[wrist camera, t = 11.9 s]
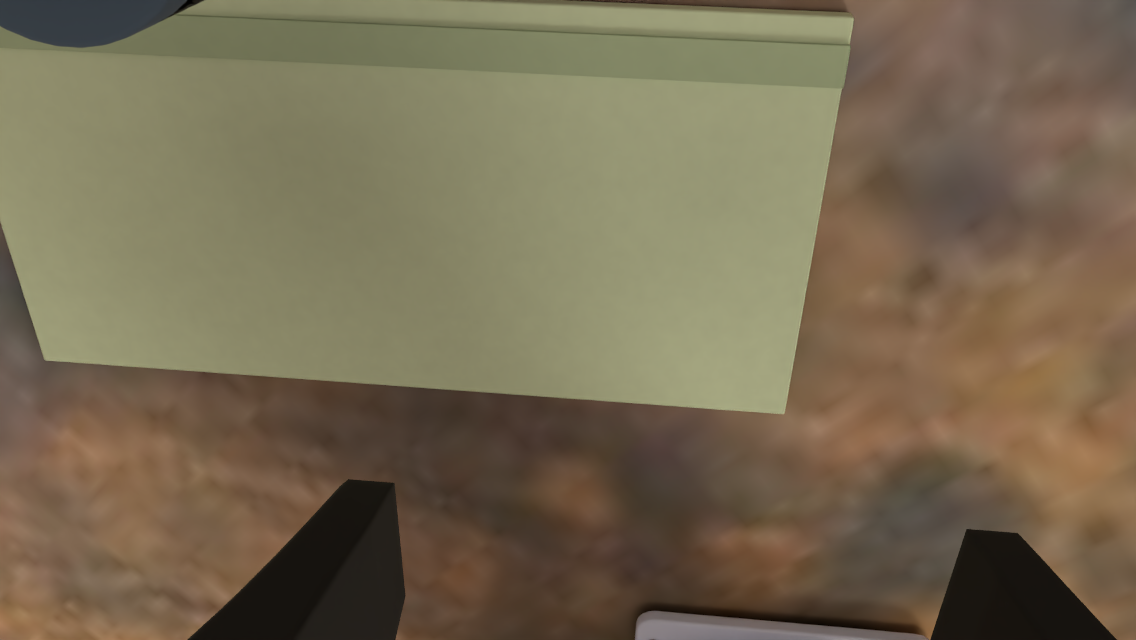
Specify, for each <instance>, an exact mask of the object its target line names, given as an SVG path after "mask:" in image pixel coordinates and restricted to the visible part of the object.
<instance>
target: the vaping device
mask: <svg viewBox="0 0 1136 640" xmlns="http://www.w3.org/2000/svg"><path fill="white" fill-rule="evenodd" d="M202 1H204V0H0V26H1V27H2V28H4V29H6V30H8V31H11V32H13V33H16V34H18V35H20V36H23V37H25V38H28V39H30V40H33V41H37V42H42V43H46V44H50V45H54V46H61V47H76V48H85V47H94V46H102V45H107V44H110V43H113V42H116V41H119V40H122V39H125V38H128V37H130V36H132V35H134V34H136V33H138V32H140V31H142V30H144V29H146V28H148V27H151V26H153V25H155V24H157V23H158V22H161V21H163V20H165V19H167V18H169V17H171V16H173V15H175V14H177V13H180V12H182V11H184V10H186V9H187V8H189V7H192V6H194V5H196V4H198V3H200V2H202ZM187 5H188V6H187ZM185 8H186V9H185Z"/></svg>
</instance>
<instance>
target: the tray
mask: <svg viewBox="0 0 1136 640" xmlns="http://www.w3.org/2000/svg"><path fill="white" fill-rule="evenodd" d="M187 6H188V5H187ZM185 9H186V8H185ZM853 22H854V17H853V16H852V14H851V13H849V12H825V11H802V10H779V9H755V8H732V7H709V6H685V5H662V4H639V3H615V2H592V1H568V0H204V1H202V2H200V3H198V4H196V5H194V6H192V7H189V8H187V9H186V10H184V11H182V12H180V13H177V14H175V15H173V16H171V17H169V18H167V19H165V20H163V21H161V22H158V23H157V24H155V25H153V26H151V27H148V28H146V29H144V30H142V31H140V32H138V33H136V34H134V35H132V36H130V37H128V38H125V39H122V40H119V41H116V42H113V43H110V44H107V45H102V46H94V47H85V48H76V47H61V46H54V45H50V44H46V43H42V42H37V41H33V40H30V39H28V38H25V37H23V36H20V35H18V34H16V33H13V32H11V31H8V30H6V29H4V28H2V27H1V26H0V222H1V225H2V229H3V232H4V235H5V238H6V241H7V244H8V247H9V250H10V254H11V257H12V260H13V263H14V266H15V269H16V272H17V275H18V278H19V282H20V285H21V288H22V291H23V294H24V297H25V300H26V303H27V307H28V310H29V313H30V316H31V319H32V322H33V325H34V328H35V332H36V335H37V338H38V341H39V344H40V347H41V350H42V353H43V356H44V359H45V360H48V361H62V362H75V363H89V364H103V365H117V366H130V367H144V368H158V369H172V370H185V371H199V372H213V373H226V374H240V375H254V376H268V377H281V378H295V379H309V380H322V381H336V382H350V383H364V384H377V385H391V386H405V387H418V388H432V389H446V390H460V391H473V392H487V393H501V394H514V395H528V396H542V397H556V398H569V399H583V400H597V401H610V402H624V403H638V404H652V405H665V406H679V407H693V408H706V409H720V410H734V411H748V412H761V413H775V414H784V413H785V408H786V403H787V397H788V391H789V386H790V380H791V374H792V369H793V363H794V357H795V352H796V346H797V340H798V335H799V329H800V323H801V318H802V312H803V306H804V301H805V295H806V289H807V284H808V278H809V272H810V267H811V261H812V255H813V250H814V244H815V238H816V232H817V227H818V221H819V215H820V210H821V204H822V198H823V193H824V187H825V181H826V176H827V170H828V164H829V159H830V153H831V147H832V142H833V136H834V130H835V125H836V119H837V113H838V108H839V102H840V96H841V91H842V89H843V88H844V82H845V77H846V71H847V65H848V60H849V54H850V48H851V46H850V39H851V34H852V28H853Z"/></svg>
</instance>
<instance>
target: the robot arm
mask: <svg viewBox="0 0 1136 640" xmlns="http://www.w3.org/2000/svg"><path fill="white" fill-rule="evenodd" d="M404 599H405V588H404V577H403V567H402V557H401V546H400V536H399V526H398V515H397V505H396V494H395V484H394V483H387V482H374V481H362V480H349V479H348V480H347V481H346V482H345V483H343V484H342V485H341V486H340V487H339V488H338V489H337V490H336V491H335V492H334V493H333V495H332V496H331V497H330V498H329V499H328V500H327V501H326V502H325V503H324V504H323V505H322V507H321V508H320V509H319V510H318V511H317V512H316V513H315V514H314V515H313V516H312V517H311V518H310V520H309V521H308V522H307V523H306V524H305V525H304V526H303V527H302V528H301V529H300V530H299V531H298V532H297V533H296V535H295V536H294V537H293V538H292V539H291V540H290V541H289V542H288V543H287V544H286V545H285V546H284V547H283V548H282V549H281V550H280V551H279V552H278V553H277V554H276V556H275V557H274V558H273V559H272V560H271V561H270V562H269V563H268V564H267V565H266V566H265V567H264V568H263V569H262V570H261V571H260V572H259V573H258V574H257V575H256V576H255V577H254V578H253V579H252V580H251V581H250V582H249V583H248V584H247V585H246V586H245V587H244V588H243V589H241V590H240V591H239V592H238V593H237V594H236V595H235V596H234V597H233V598H232V599H231V600H230V601H229V602H228V603H227V604H226V605H225V606H224V607H223V608H222V609H221V610H220V611H218V612H217V613H216V614H215V615H214V616H213V617H212V618H211V619H210V620H209V621H207V622H206V623H205V624H204V625H203V626H202V627H201V628H200V629H199V630H198V631H197V632H195V633H194V634H193V635H192V636H191V637H190V638H189V639H188V640H395V638H396V634H397V630H398V625H399V621H400V617H401V612H402V608H403V604H404ZM652 639H654V640H929V639H928V638H926V637H925V636H923V635H919V634H913V633H901V632H890V631H879V630H867V629H856V628H845V627H833V626H822V625H811V624H799V623H788V622H777V621H766V620H754V619H743V618H732V617H720V616H709V615H698V614H686V613H675V612H664V611H648V612H645V613H642V614H641V615H640V616H639V617H638V619H637V622H636V632H635V640H652ZM931 640H1117V639H1116V638H1115V637H1114V636H1113V635H1112V634H1111V633H1110V632H1109V631H1108V630H1107V629H1106V628H1105V627H1104V626H1103V625H1102V624H1101V623H1100V621H1099V620H1098V619H1097V618H1096V617H1095V616H1094V615H1093V614H1092V613H1091V612H1090V611H1089V610H1088V608H1087V607H1086V606H1085V605H1084V604H1083V603H1082V602H1081V601H1080V600H1079V599H1078V598H1077V597H1076V596H1075V594H1074V593H1073V592H1072V591H1071V590H1070V589H1069V588H1068V587H1067V586H1066V585H1065V584H1064V582H1063V581H1062V580H1061V579H1060V578H1059V577H1058V576H1057V575H1056V574H1055V573H1054V572H1053V570H1052V569H1051V568H1050V567H1049V566H1048V565H1047V564H1046V563H1045V562H1044V561H1043V560H1042V559H1041V557H1040V556H1039V555H1038V554H1037V553H1036V552H1035V551H1034V550H1033V549H1032V548H1031V547H1030V546H1029V545H1028V544H1027V542H1026V541H1025V540H1024V539H1023V538H1022V537H1021V536H1020V535H1019V534H1018V533H1009V532H996V531H984V530H971V529H967V530H966V533H965V536H964V539H963V542H962V545H961V548H960V551H959V554H958V557H957V560H956V563H955V566H954V569H953V573H952V576H951V579H950V582H949V585H948V588H947V591H946V594H945V597H944V600H943V603H942V606H941V609H940V612H939V615H938V618H937V621H936V624H935V628H934V631H933V634H932V637H931Z"/></svg>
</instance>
